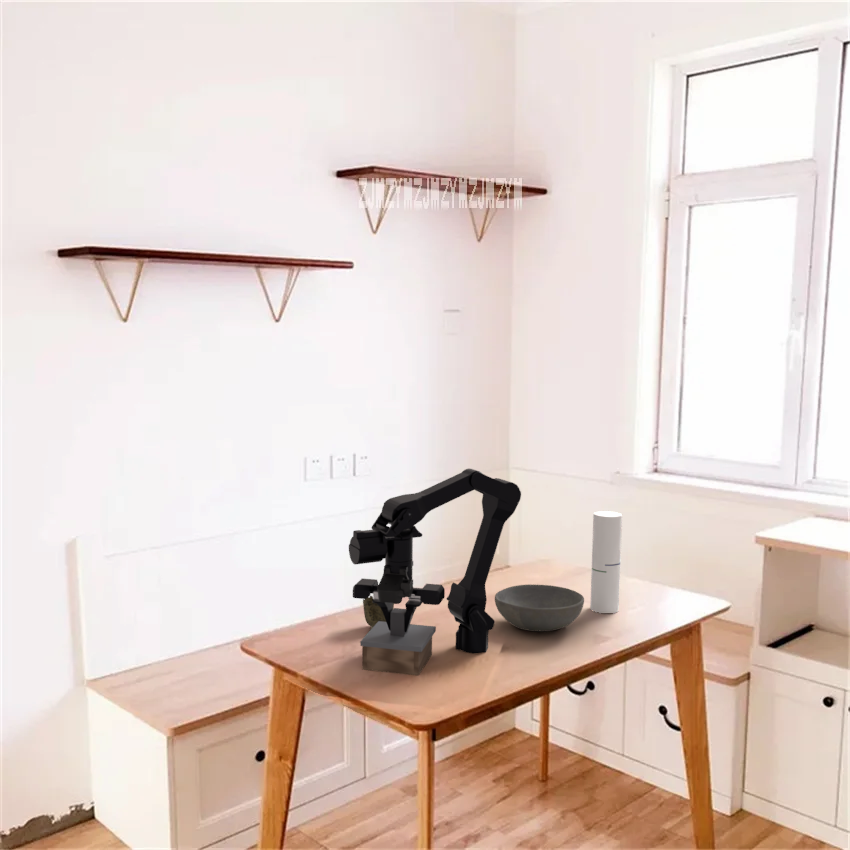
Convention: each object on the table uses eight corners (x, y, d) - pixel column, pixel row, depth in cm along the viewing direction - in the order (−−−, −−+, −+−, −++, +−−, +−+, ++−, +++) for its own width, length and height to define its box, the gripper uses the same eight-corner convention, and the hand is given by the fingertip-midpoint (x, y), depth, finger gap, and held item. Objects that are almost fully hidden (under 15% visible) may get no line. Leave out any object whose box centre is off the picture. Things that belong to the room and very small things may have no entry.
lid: (435, 630, 193) (436, 604, 192) (421, 652, 180) (421, 623, 179) (378, 625, 196) (378, 599, 195) (360, 645, 183) (360, 617, 182)
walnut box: (431, 658, 192) (432, 632, 192) (418, 680, 181) (418, 651, 180) (378, 653, 195) (379, 627, 195) (362, 674, 184) (362, 646, 183)
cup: (366, 638, 204) (366, 605, 203) (359, 628, 211) (359, 595, 210) (397, 636, 206) (397, 602, 205) (390, 625, 213) (390, 593, 212)
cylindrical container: (621, 614, 224) (624, 517, 221) (592, 613, 224) (596, 516, 221) (615, 605, 231) (619, 511, 228) (588, 604, 231) (591, 510, 228)
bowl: (519, 647, 200) (520, 613, 199) (479, 618, 219) (480, 587, 219) (599, 636, 208) (600, 603, 207) (554, 609, 227) (555, 579, 226)
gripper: (344, 565, 180) (344, 639, 182) (433, 572, 175) (432, 648, 177) (360, 552, 191) (360, 622, 192) (445, 558, 186) (444, 630, 188)
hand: (398, 630), depth 187 cm, fingers closed on lid, 3 cm apart
